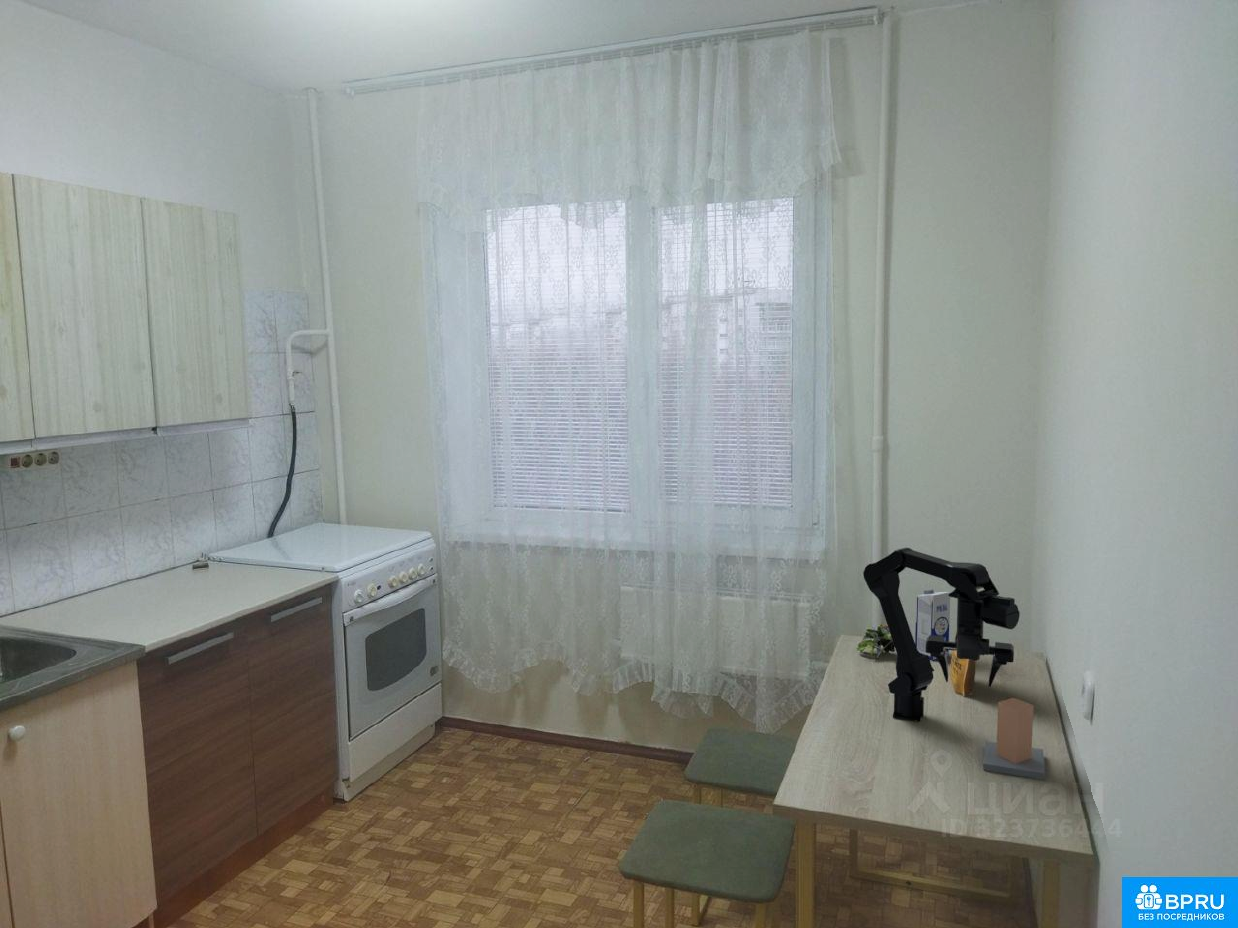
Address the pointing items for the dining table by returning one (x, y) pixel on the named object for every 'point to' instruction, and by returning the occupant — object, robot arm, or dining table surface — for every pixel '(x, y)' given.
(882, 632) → the green leafy clump
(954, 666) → the pancake mix bag
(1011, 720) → the terracotta block
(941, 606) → the milk carton
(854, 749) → the dining table surface
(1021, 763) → the slate board
